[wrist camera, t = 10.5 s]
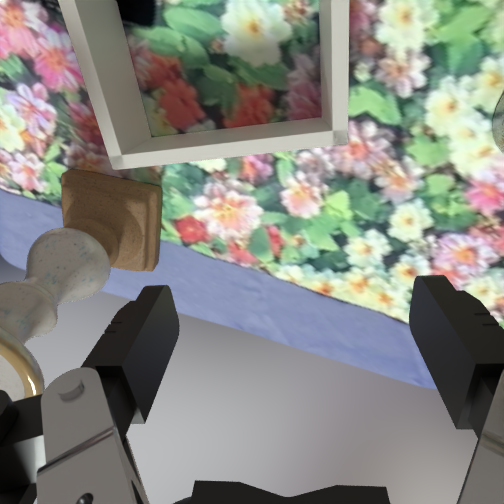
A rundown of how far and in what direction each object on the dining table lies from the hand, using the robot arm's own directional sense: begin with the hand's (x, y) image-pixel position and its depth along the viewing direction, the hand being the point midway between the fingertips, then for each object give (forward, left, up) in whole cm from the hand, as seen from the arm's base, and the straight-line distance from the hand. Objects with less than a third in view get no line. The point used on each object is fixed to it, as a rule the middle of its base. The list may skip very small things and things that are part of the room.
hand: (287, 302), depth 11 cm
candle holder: (+21, +7, -28) cm, 36 cm away
